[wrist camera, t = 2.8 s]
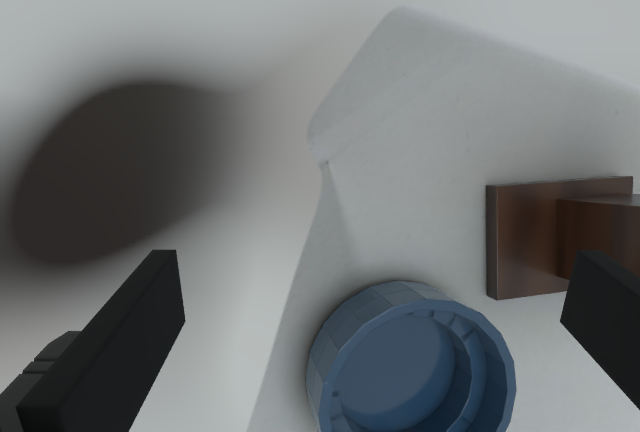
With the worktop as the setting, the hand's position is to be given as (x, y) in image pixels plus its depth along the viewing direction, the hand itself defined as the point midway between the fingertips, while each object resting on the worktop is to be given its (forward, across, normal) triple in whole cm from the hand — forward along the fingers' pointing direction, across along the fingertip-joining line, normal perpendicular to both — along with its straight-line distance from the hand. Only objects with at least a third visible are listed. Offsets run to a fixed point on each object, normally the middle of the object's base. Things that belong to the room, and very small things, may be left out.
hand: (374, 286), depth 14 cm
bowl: (+18, +4, -18) cm, 26 cm away
